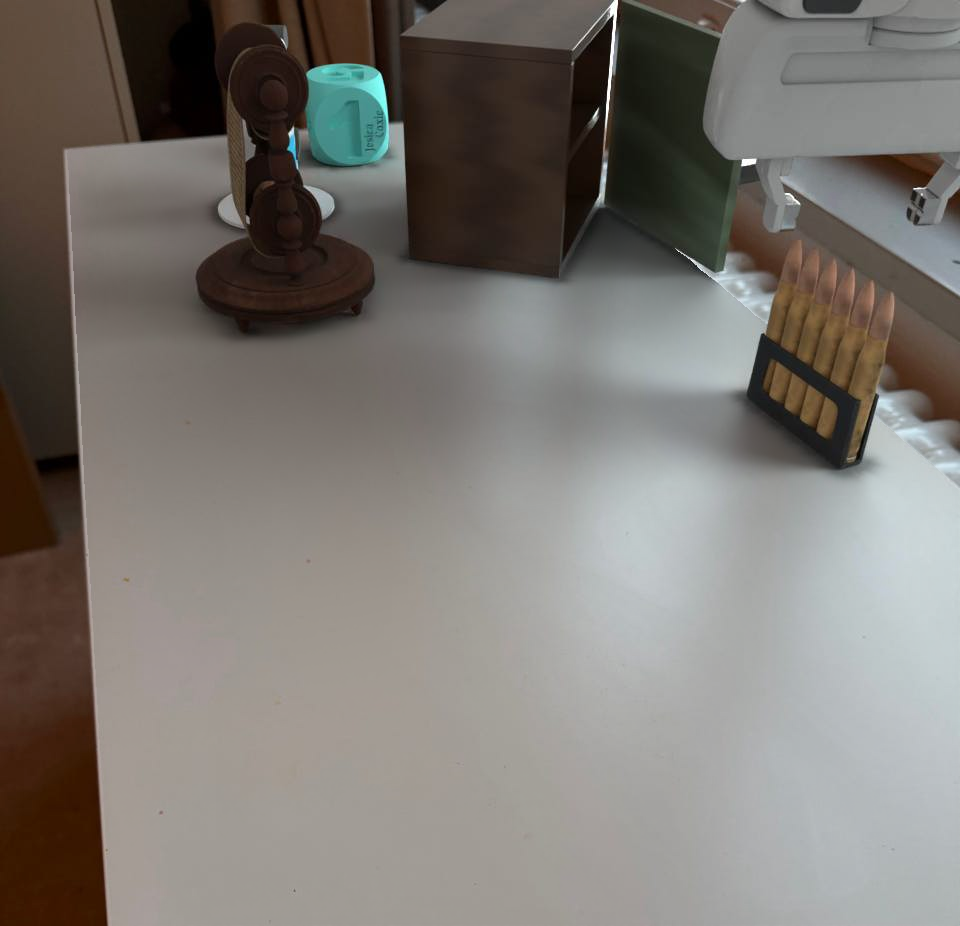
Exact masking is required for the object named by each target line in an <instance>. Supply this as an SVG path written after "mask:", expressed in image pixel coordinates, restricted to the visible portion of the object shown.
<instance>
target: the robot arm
mask: <svg viewBox="0 0 960 926" xmlns="http://www.w3.org/2000/svg"><path fill="white" fill-rule="evenodd" d="M721 34H722V36H721V39H720V42H719V46H718V49H717V53H716V56H715V60H714V64H713V68H712V72H711V76H710V81H709V85H708V90H707V96H706V101H705V107H704V114H703V129H704V132H705V134H706V136H707V138H708V139H709V141H710V142H711V144H712V145H713V146H714V147H715V149H716V150H717V151H718V152H719V153H720V154H721V155H722V156H723V157H725V158H726V159H729V160H746V159H756V163H755V166H756V169H757V172H758V175H759V177H760V180H761V181H760V183H761V185H762V189H763V191H764V193H765V195H766V200H765V206H764V209H763V213H762V214H763V215H762V224H763V227H764V228H765V229H766V230H767V231H768V233H785V232H794V231H795V229H796V227H797V221H796V219H797V218H798V216H799V213H800V209H801V203H800V202H799V201H798V200H797V199H795V197H794V196H793V195H792V194H791V193H786V192H785V189H784V185H783V183H782V180H781V177H789V176H790V175H791V171H792V168H793V162H794V159H797V158H824V157H827V158H828V157H853V156H855V157H856V156H879V155H881V156H882V155H905V154H932V153H937V154H938V153H939V155H938V157H939V158H940V159H941V160H943V161H944V162H943V163H942V164H941V166H940V167H939V169H937V171H936V172H935V173H934V175H933V176H932V178H931V179H930V180H929V181H928V183H927V184H926V186H925V187H917V188H915V187H914V188H913V189H912V192H911V195H910V197H909V200H910V204H909V205H908V206H907V208H906V215H905V216H906V220H907V221H908V222H910V223H912V225H913V226H914V227H919V226H921V227H922V226H926V227H927V226H937V225H940V223H941V221H942V220H943V217H944V213H945V210H946V208H947V204H948V201H949V199H950V198H952V197H953V196H954V195H955V193H956V192H957V191H958V190H959V189H960V0H745V1H743V2H741V3H740V4H739V5H738V6H737V8H735V9H734V10H733V12H732V14H731V15H730V16H729V18H728V19H727V22H726V23H725V26H724V28H723V30H722V33H721ZM780 175H781V176H780Z"/></svg>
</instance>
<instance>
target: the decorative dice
mask: <svg viewBox="0 0 960 926" xmlns="http://www.w3.org/2000/svg"><path fill="white" fill-rule="evenodd" d="M306 75H307V79H308V84H309V97H308V102H307V105H306V108H305V110H304V112H305V118H306V119H305V120H306V126H307V127H306V128H307V133H308V140H309V145H310V150H311V154H312V157H313V158H315V159H316V160H317V161H319V162H321V163H323V164H325V165H329V166H330V165H331V166H337V167H338V166H339V167H354V166H357V167H358V166H363V165H368V164H372V163H375V162H377V161H378V160H380V159H382V157H383V156H385V154H386V152H387V151H388V149H389V142H390V141H389V139H390V138H389V137H390V136H389V133H390V131H389V128H390V127H389V111H388V102H387V95H386V89H385V83H384V80H383V76H382V73H381V72H380V71H379V70H378V69H377V68H374V67H373V66H370V65H365V64H358V63H331V64H324V65H320V66H316V67H314V68H311V69H310V70H308V71H307V72H306Z"/></svg>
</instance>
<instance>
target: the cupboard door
mask: <svg viewBox="0 0 960 926" xmlns="http://www.w3.org/2000/svg"><path fill="white" fill-rule="evenodd" d="M619 14H620V15H619V24H618V25H619V27H618V35H617V36H618V38H617V48H616V59H615V71H614V84H613V94H612V96H613V97H612V105H611V117H610V127H609V141H608V152H607V162H606V175H605V184H604V197H603V206H606V207H608V209H610V210H612V211H614V212H615V213H617V214H618V215H620V216H621V217H624V218H625V219H627V220H629V221H630V222H631V223H633V224H635V225H637V226H638V227H640V228H641V229H643V230H644V231H646V232H648V233H649V234H651V235H653V236H654V237H655V238H657V239H659V240H661V241H662V242H663V243H665V244H667V245H669V246H671V247H672V248H674V249H675V250H677V251H678V252H680V253H681V254H683V255H685V256H687V257H688V258H690V259H691V260H693V261H694V262H696V263H698V264H700V265H701V266H703V267H704V268H706V269H708V270H709V271H711V272H712V273H714V274H716V273H721V272H724V270H725V266H726V260H727V253H728V248H729V247H728V246H729V242H730V237H731V236H730V235H731V230H732V224H733V218H734V215H735V214H734V213H735V207H736V202H737V196H738V189H739V186H741V185H746V184H750V183H756V182H761V180H760V177H759V175H758V172H757V169H756V166H755V163H756V159H746V160H729V159H726V158H725V157H723V156H722V155H721V154H720V153H719V152H718V151H717V150H716V149H715V147H714V146H713V145H712V144H711V142H710V141H709V139H708V138H707V136H706V134H705V132H704V129H703V114H704V107H705V101H706V96H707V90H708V85H709V81H710V76H711V72H712V68H713V64H714V60H715V56H716V53H717V49H718V46H719V42H720V39H721V36H722V33H721V32H718V31H716V30H713V29H710V28H707V27H705V26H702V25H699V24H697V23H694V22H692V21H689V20H686V19H684V18H681V17H678V16H675V15H673V14H671V13H668V12H665V11H663V10H660V9H657V8H654V7H652V6H649V5H646V4H644V3H642V2H638V1H636V0H621V3H620V13H619ZM780 177H782V176H781V175H780Z"/></svg>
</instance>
